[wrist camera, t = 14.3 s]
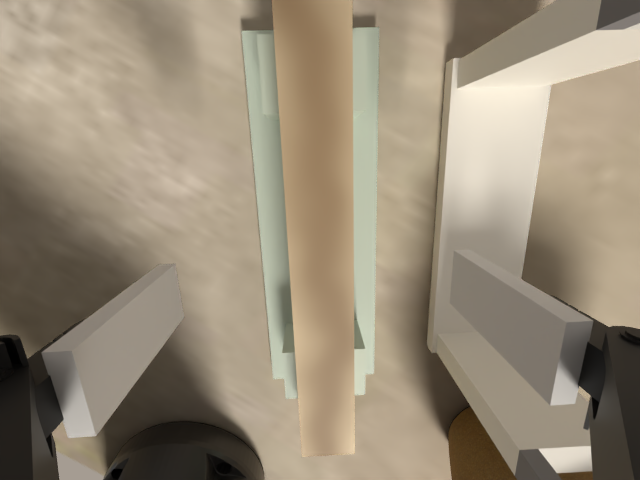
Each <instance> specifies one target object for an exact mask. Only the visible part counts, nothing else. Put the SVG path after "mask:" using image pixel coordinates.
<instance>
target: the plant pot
mask: <svg viewBox="0 0 640 480" xmlns="http://www.w3.org/2000/svg"><path fill="white" fill-rule="evenodd" d="M448 440H449V455H450V466H451V476H452V480H517V479H516V477H515V476H514V474H513V472H512V471H511V469H510V468H509V466H508V464H507V463H506V461H505V460H504V458H503V457H502V455H501V453H500V452H499V450H498V449H497V447H496V445H495V444H494V442H493V441H492V439H491V438H490V436H489V434H488V433H487V431H486V430H485V428H484V427H483V425H482V423H481V422H480V420H479V419H478V417H477V415H476V414H475V412H474V411H473V409H472V408H471V406H470V407H469V408H467V409H465V410H464V411H462V412H461V413H460V414H459V415H458V416H457V417H456V418H455V419H454V421H453V422H452V424H451V426H450V429H449V433H448ZM557 474H558V475H559V477H560V478H561V479H562V480H593V472H592V471H587V472H570V473H557Z"/></svg>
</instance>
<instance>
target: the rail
mask: <svg viewBox="0 0 640 480" xmlns="http://www.w3.org/2000/svg"><path fill="white" fill-rule="evenodd" d="M272 13H273V28H274V43H275V58H276V73H277V88H278V104H279V119H280V134H281V149H282V164H283V179H284V194H285V209H286V225H287V240H288V255H289V270H290V285H291V300H292V315H293V331H294V346H295V361H296V376H297V391H298V406H299V421H300V437H301V452H302V457H309V456H326V455H343V454H355V391H354V198H353V5H352V0H272Z"/></svg>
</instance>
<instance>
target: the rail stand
mask: <svg viewBox="0 0 640 480" xmlns="http://www.w3.org/2000/svg"><path fill="white" fill-rule="evenodd" d="M638 60H640V0H556V1H554V2H553V3H551V4H550V5H548V6H546V7H545V8H543V9H541V10H540V11H538V12H536V13H535V14H533V15H532V16H530V17H528V18H527V19H525V20H523V21H522V22H520V23H518V24H517V25H515V26H514V27H512V28H510V29H509V30H507V31H505V32H504V33H502V34H500V35H499V36H497V37H496V38H494V39H492V40H491V41H489V42H487V43H486V44H484V45H482V46H481V47H479V48H477V49H476V50H474V51H473V52H471V53H469V54H468V55H466V56H464V57H463V58H453V59H451V60H450V61H448V62H447V63H446V70H445V85H444V99H443V114H442V129H441V143H440V158H439V173H438V187H437V202H436V216H435V231H434V246H433V260H432V275H431V290H430V304H429V319H428V333H427V346H428V348H429V350H430V351H431V353H437V354H438V355H439V357H440V359H441V360H442V362H443V363H444V365H445V366H446V368H447V370H448V371H449V373H450V374H451V376H452V378H453V379H454V381H455V382H456V384H457V385H458V387H459V389H460V390H461V392H462V393H463V395H464V397H465V398H466V400H467V401H468V403H469V404H470V406H471V408H472V409H473V411H474V412H475V414H476V415H477V417H478V419H479V420H480V422H481V423H482V425H483V427H484V428H485V430H486V431H487V433H488V434H489V436H490V438H491V439H492V441H493V442H494V444H495V445H496V447H497V449H498V450H499V452H500V453H501V455H502V457H503V458H504V460H505V461H506V463H507V464H508V466H509V468H510V469H511V471H512V472H513V474H514V476H515V477H516V479H517V480H562V479H561V478H560V477H559V475H558V474H557V473H570V472H587V471H592V457H591V443H590V428H589V429H588V430H586V429H583V426H584V422H585V418H586V414H587V410H588V405H589V402H588V401H587V400H586V399H585V398H584V397H583V396H582V395H581V394H579V393H577V398H576V402H575V404H566V405H551V406H550V405H549V404H548V403H547V402H546V401H545V400H544V399H543V398H542V397H541V396H540V395H539V394H538V393H537V392H536V391H535V390H534V389H533V388H532V387H531V386H530V385H529V383H528V382H527V381H526V380H525V379H524V378H523V377H522V376H521V375H520V374H519V373H518V372H517V371H516V370H515V369H514V368H513V367H512V366H511V365H510V364H509V363H508V362H507V361H506V360H505V359H504V358H503V357H502V356H501V355H500V354H499V353H498V352H497V351H496V350H495V349H494V348H493V347H492V346H491V345H490V344H489V343H488V342H487V340H486V339H485V338H484V337H483V336H482V335H481V334H480V333H479V332H478V331H477V330H476V329H475V328H474V327H473V326H472V325H471V324H470V323H469V322H468V321H467V320H466V319H465V318H464V317H463V316H462V315H461V314H460V313H459V312H458V311H457V310H456V309H455V308H454V307H453V306H452V305H451V304H450V293H451V281H452V269H453V257H454V250H471V251H473V252H475V253H477V254H478V255H480V256H482V257H484V258H485V259H487V260H489V261H491V262H492V263H494V264H496V265H497V266H499V267H501V268H503V269H504V270H506V271H508V272H510V273H511V274H513V275H515V276H517V277H518V278H520V279H521V278H522V272H523V265H524V259H525V252H526V246H527V240H528V233H529V227H530V220H531V214H532V207H533V201H534V194H535V188H536V181H537V175H538V168H539V162H540V155H541V149H542V142H543V136H544V129H545V123H546V116H547V110H548V104H549V97H550V91H551V84H555V83H558V82H562V81H566V80H569V79H573V78H577V77H580V76H584V75H587V74H591V73H595V72H598V71H602V70H606V69H609V68H613V67H616V66H620V65H624V64H627V63H631V62H635V61H638Z"/></svg>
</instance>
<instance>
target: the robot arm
mask: <svg viewBox="0 0 640 480" xmlns="http://www.w3.org/2000/svg"><path fill="white" fill-rule="evenodd" d="M450 304H451V305H452V306H453V307H454V308H455V309H456V310H457V311H458V312H459V313H460V314H461V315H462V316H463V317H464V318H465V319H466V320H467V321H468V322H469V323H470V324H471V325H472V326H473V327H474V328H475V329H476V330H477V331H478V332H479V333H480V334H481V335H482V336H483V337H484V338H485V339H486V340H487V342H488V343H489V344H490V345H491V346H492V347H493V348H494V349H495V350H496V351H497V352H498V353H499V354H500V355H501V356H502V357H503V358H504V359H505V360H506V361H507V362H508V363H509V364H510V365H511V366H512V367H513V368H514V369H515V370H516V371H517V372H518V373H519V374H520V375H521V376H522V377H523V378H524V379H525V380H526V381H527V382H528V383H529V385H530V386H531V387H532V388H533V389H534V390H535V391H536V392H537V393H538V394H539V395H540V396H541V397H542V398H543V399H544V400H545V401H546V402H547V403H548V404H549V405H550V406H551V405H566V404H575V402H576V398H577V393H578V389H579V386H580V387H581V388H583V389H584V390H585V391H586V392H587V393H588V394H590V395H591V397H590V401H589V405H588V410H587V414H586V418H585V422H584V426H583V429H586V430H588V429H589V428H590V443H591V457H592V472H593V480H640V329H636V328H631V327H625V326H612V327H608V326H606V325H604V324H602V323H601V322H599V321H597V320H595V319H594V318H592V317H590V316H588V315H587V314H585V313H583V312H581V311H578V309H576V308H574V307H572V306H571V305H568V304H567V303H565V302H564V301H562V300H560V299H558V298H557V297H554V296H552V295H549V294H546V293H544V292H543V291H541V290H539V289H537V288H536V287H534V286H532V285H530V284H529V283H527V282H525V281H524V280H522V279H520V278H518V277H517V276H515V275H513V274H511V273H510V272H508V271H506V270H504V269H503V268H501V267H499V266H497V265H496V264H494V263H492V262H491V261H489V260H487V259H485V258H484V257H482V256H480V255H478V254H477V253H475V252H473V251H471V250H454V257H453V269H452V281H451V293H450ZM183 318H184V312H183V307H182V301H181V295H180V289H179V283H178V277H177V271H176V265H175V264H161V265H157V266H156V267H155V268H153V269H152V270H151V271H149V272H148V273H147V274H145V275H144V276H143V277H141V278H140V279H139V280H137V281H136V282H135V283H133V284H132V285H131V286H129V287H128V288H127V289H125V290H124V291H123V292H121V293H120V294H119V295H117V296H116V297H115V298H113V299H112V300H111V301H109V302H108V303H107V304H105V305H104V306H103V307H101V308H100V309H99V310H97V311H96V312H95V313H93V314H92V315H91V316H89V317H88V318H87V319H84V320H82V321H80V322H78V323H76V324H74V325H73V326H72V327H70V328H69V329H68V330H66V331H65V332H64V333H63V335H60V336H58V337H57V338H55V339H54V340H53V342H50V343H49V344H47V345H46V346H45V347H43V348H42V349H41V350H39V351H38V352H36V353H35V354H34V355H32V356H31V357H30V358H28V359H27V357H26V354H25V351H24V348H23V345H22V342H21V339H20V338H19V336H18V335H2V336H0V480H59V473H58V465H57V456H56V448H55V442H54V439H53V436H52V432H53V431H54V430H55V429H56V427H57V426H58V425H59V424H60V423H61V422H62V421H63V423H64V426H65V430H66V433H67V436H68V438H75V437H90V436H97V434H98V433H99V432H100V430H101V429H102V428H103V426H104V425H105V423H106V422H107V421H108V419H109V418H110V417H111V415H112V414H113V413H114V411H115V410H116V409H117V407H118V406H119V405H120V403H121V402H122V401H123V399H124V398H125V397H126V395H127V394H128V392H129V391H130V390H131V388H132V387H133V386H134V384H135V383H136V382H137V380H138V379H139V378H140V376H141V375H142V374H143V372H144V371H145V370H146V368H147V367H148V366H149V364H150V363H151V361H152V360H153V359H154V357H155V356H156V355H157V353H158V352H159V351H160V349H161V348H162V347H163V345H164V344H165V343H166V341H167V340H168V339H169V337H170V336H171V334H172V333H173V332H174V330H175V329H176V328H177V326H178V325H179V324H180V322H181V321H182V320H183ZM103 480H264V473H263V469H262V466H261V464H260V462H259V460H258V458H257V456H256V455H255V454H254V452H253V451H252V450H251V449H250V448H249V447H248V446H247V445H246V444H245V443H244V442H243V441H241V440H240V439H239V438H237V437H236V436H234V435H232V434H230V433H228V432H226V431H224V430H222V429H219V428H216V427H213V426H210V425H206V424H201V423H193V422H174V423H166V424H162V425H158V426H154V427H151V428H149V429H146V430H144V431H142V432H140V433H139V434H137V435H135V436H134V437H133V438H131V439H130V440H129V441H128V442H127V443H126V444H125V445H124V446H123V447H122V449H121V450H120V452H119V453H118V455H117V456H116V458H115V459H114V461H113V463H112V464H111V466H110V467H109V469H108V471H107V472H106V474H105V476H104V479H103Z"/></svg>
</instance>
